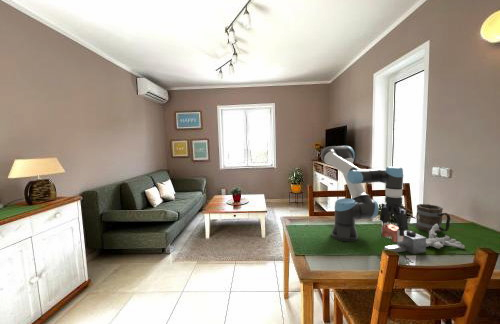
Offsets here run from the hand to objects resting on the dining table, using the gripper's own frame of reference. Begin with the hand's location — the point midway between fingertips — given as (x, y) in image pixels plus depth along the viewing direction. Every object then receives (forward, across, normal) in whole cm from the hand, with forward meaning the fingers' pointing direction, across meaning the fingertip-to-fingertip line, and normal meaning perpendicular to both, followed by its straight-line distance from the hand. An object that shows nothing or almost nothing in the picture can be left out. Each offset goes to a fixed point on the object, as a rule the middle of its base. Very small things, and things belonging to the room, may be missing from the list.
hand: (392, 237), depth 117 cm
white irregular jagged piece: (+8, +1, -32) cm, 33 cm away
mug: (+8, +17, -48) cm, 51 cm away
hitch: (+8, 0, -6) cm, 10 cm away
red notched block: (0, 0, 0) cm, 0 cm away
